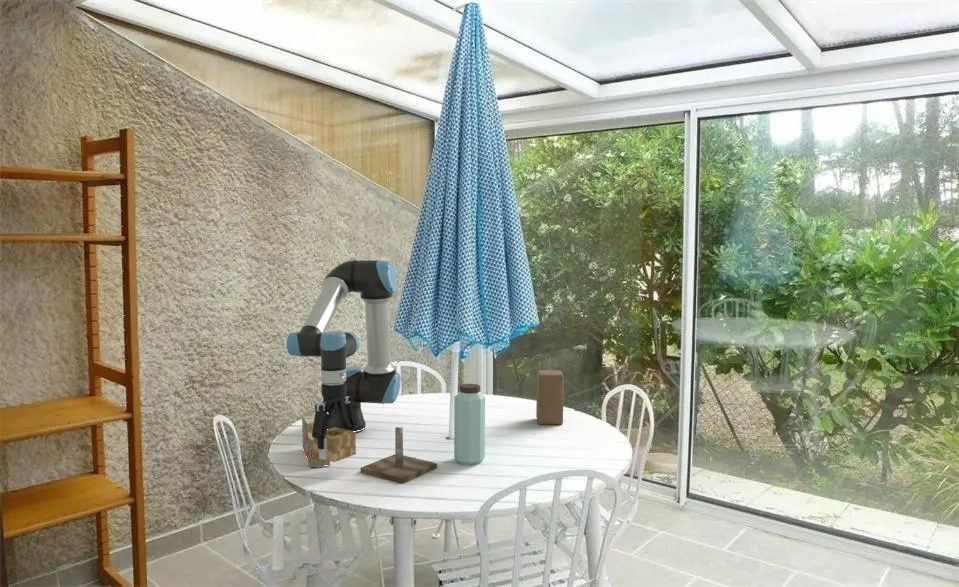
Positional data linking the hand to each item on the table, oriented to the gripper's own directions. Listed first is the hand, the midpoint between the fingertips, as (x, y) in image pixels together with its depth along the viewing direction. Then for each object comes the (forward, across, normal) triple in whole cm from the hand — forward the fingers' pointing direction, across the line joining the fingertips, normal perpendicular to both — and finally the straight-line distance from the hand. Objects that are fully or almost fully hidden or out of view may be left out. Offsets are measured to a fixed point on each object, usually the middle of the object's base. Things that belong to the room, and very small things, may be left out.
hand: (335, 454), depth 210 cm
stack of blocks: (+7, +8, +17) cm, 20 cm away
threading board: (+6, +14, -14) cm, 21 cm away
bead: (0, 0, 0) cm, 0 cm away
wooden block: (+7, +92, -26) cm, 96 cm away
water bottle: (+7, +34, -27) cm, 44 cm away
